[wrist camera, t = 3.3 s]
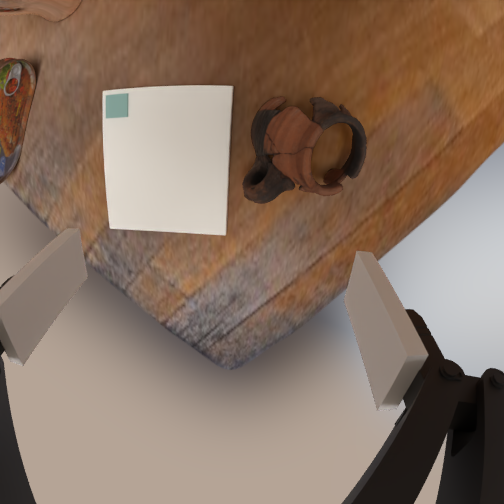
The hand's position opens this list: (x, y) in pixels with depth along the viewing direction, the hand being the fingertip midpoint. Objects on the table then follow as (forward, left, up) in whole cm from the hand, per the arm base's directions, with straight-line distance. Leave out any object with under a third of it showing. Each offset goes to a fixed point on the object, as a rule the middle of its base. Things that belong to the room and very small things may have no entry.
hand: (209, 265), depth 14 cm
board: (+7, -1, -19) cm, 20 cm away
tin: (+27, -7, -19) cm, 34 cm away
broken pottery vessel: (-5, -3, -19) cm, 20 cm away
